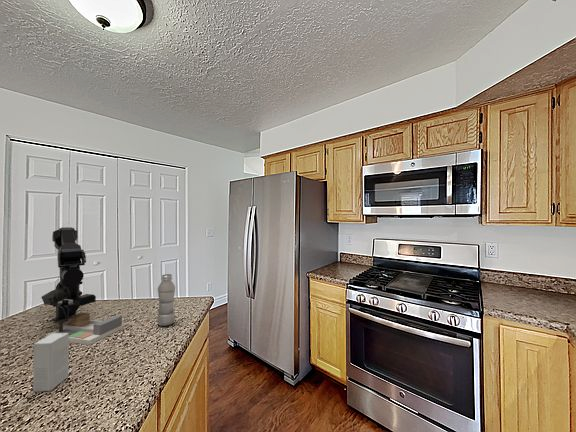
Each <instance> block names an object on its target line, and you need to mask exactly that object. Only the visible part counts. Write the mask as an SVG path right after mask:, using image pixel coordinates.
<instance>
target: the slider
mask: <svg viewBox="0 0 576 432" xmlns="http://www.w3.org/2000/svg"><path fill="white" fill-rule="evenodd" d="M65 320H68V321H67V325H70V326H78V327H82V326H85V325H87V324H89V323H90V320H91V319H90V313H89V312H79V313H76V315H73V316H70V317H68V318H65V319H62V320H60V321H56V322H57V323H58V329H59V332H61V331H63V325H64V322H66V321H65ZM63 321H64V322H63Z"/></svg>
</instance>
